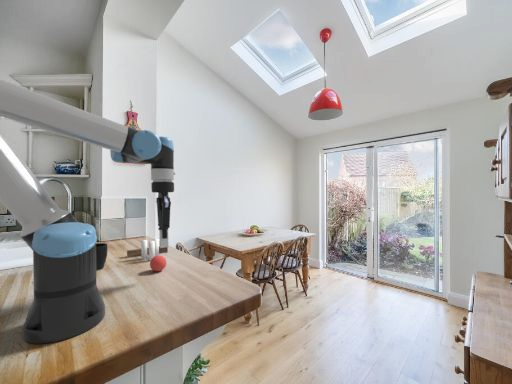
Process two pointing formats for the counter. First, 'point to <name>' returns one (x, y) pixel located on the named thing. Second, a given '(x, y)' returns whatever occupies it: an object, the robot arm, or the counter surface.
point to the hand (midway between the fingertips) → (164, 247)
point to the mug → (101, 255)
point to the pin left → (144, 249)
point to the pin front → (151, 249)
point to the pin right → (156, 246)
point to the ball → (158, 263)
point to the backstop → (138, 252)
